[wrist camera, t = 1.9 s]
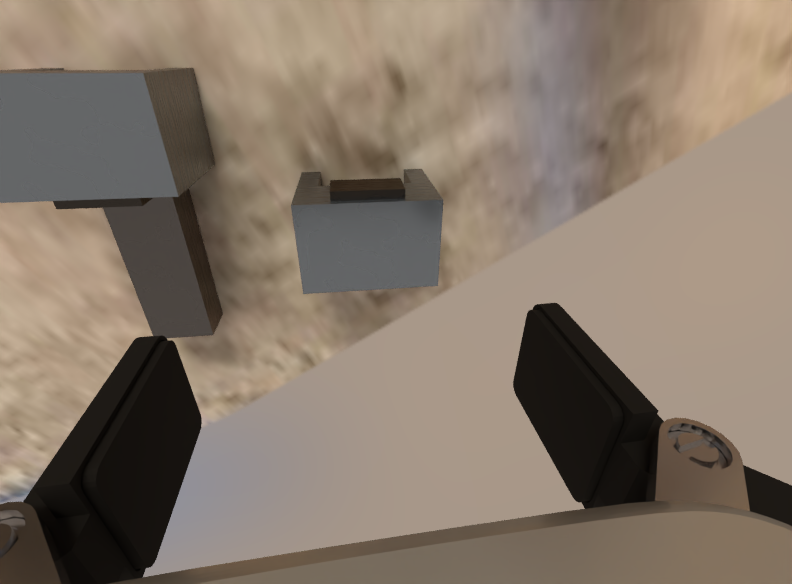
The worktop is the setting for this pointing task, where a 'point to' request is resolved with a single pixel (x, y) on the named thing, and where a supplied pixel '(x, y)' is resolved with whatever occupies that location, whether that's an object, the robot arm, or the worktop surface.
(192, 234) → the rail
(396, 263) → the grey block
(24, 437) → the worktop surface
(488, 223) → the worktop surface
